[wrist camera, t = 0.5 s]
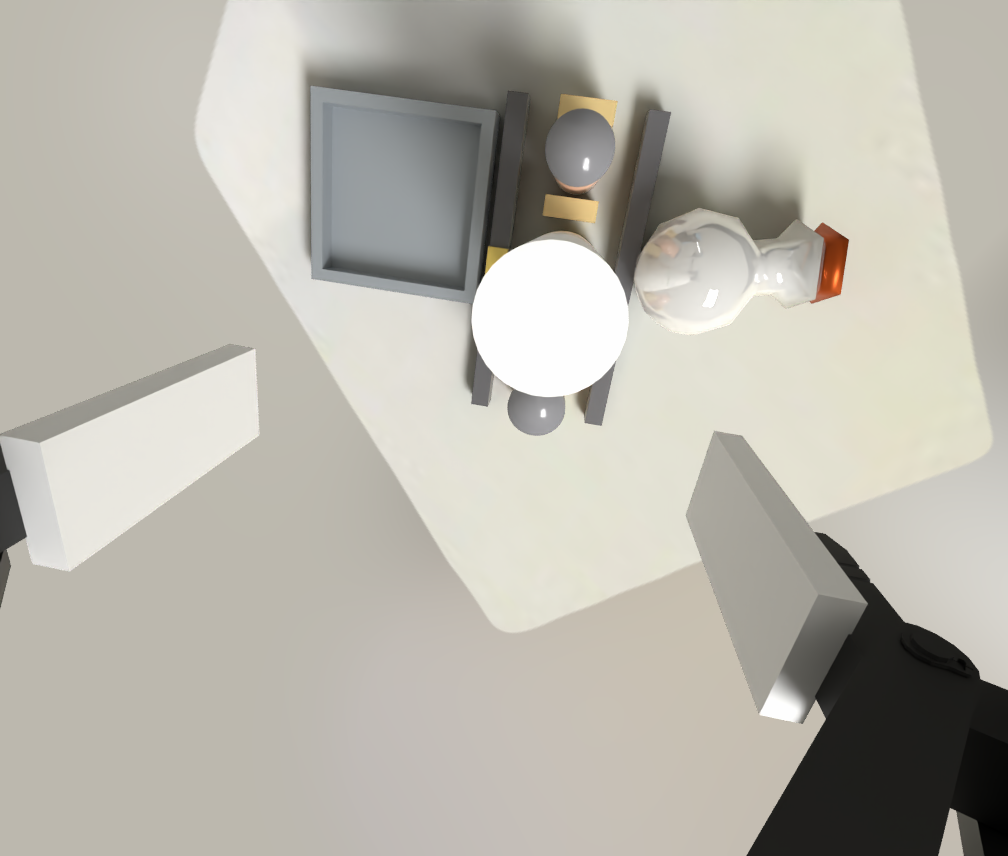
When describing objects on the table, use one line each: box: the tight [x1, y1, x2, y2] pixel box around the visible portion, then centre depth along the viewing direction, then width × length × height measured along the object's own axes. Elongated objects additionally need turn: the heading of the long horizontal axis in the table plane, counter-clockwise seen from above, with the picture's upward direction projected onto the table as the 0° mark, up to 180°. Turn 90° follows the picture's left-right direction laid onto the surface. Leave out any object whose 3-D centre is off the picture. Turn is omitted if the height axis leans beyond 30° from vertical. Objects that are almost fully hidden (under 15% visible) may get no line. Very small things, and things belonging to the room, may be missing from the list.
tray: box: [310, 86, 500, 304], centre depth 45 cm, size 15×15×2 cm
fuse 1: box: [507, 389, 565, 436], centre depth 44 cm, size 4×4×13 cm
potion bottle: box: [634, 208, 849, 335], centre depth 41 cm, size 9×10×15 cm
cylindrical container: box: [472, 230, 629, 397], centre depth 35 cm, size 7×7×25 cm
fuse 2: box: [545, 108, 615, 195], centre depth 38 cm, size 4×4×13 cm
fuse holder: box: [471, 91, 671, 426], centre depth 44 cm, size 26×13×6 cm, turn 172°
